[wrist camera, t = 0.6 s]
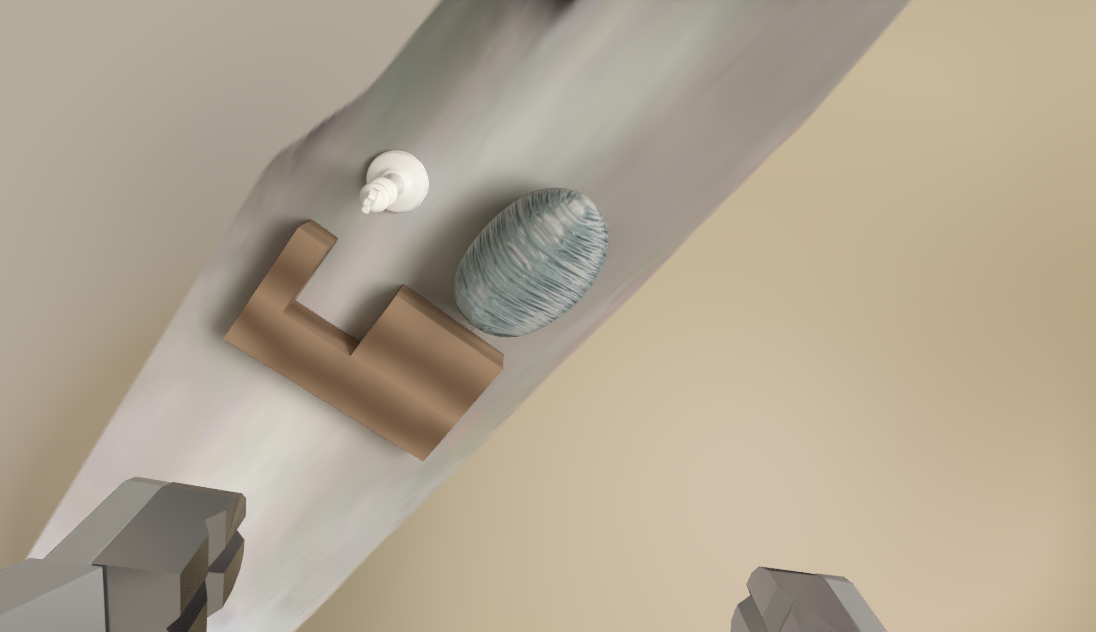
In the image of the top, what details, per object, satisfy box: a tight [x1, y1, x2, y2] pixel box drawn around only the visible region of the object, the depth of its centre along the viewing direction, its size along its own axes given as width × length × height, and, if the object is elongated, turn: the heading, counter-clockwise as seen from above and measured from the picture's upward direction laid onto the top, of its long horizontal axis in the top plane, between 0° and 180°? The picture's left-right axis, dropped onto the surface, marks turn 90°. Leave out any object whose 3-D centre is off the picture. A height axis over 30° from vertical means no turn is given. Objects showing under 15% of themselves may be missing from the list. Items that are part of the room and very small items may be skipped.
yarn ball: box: [454, 188, 608, 337], centre depth 45 cm, size 14×10×10 cm
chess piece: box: [360, 150, 429, 214], centre depth 41 cm, size 5×5×10 cm
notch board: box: [224, 220, 504, 461], centre depth 49 cm, size 12×20×3 cm, turn 51°
